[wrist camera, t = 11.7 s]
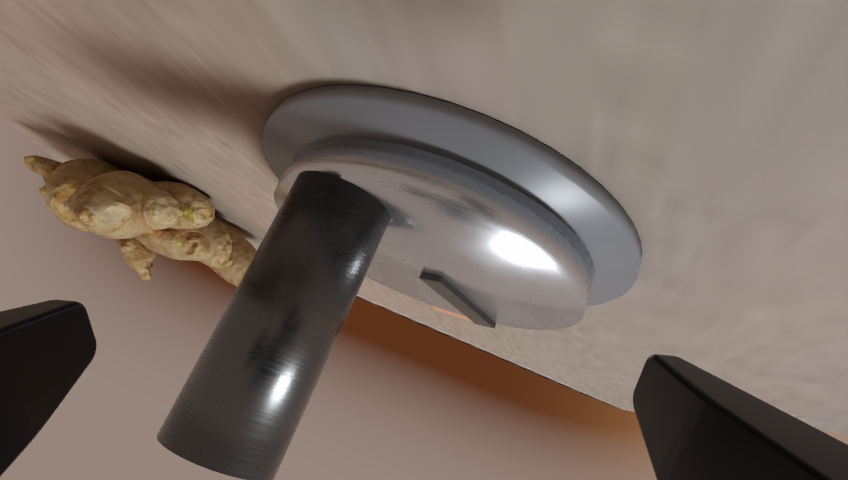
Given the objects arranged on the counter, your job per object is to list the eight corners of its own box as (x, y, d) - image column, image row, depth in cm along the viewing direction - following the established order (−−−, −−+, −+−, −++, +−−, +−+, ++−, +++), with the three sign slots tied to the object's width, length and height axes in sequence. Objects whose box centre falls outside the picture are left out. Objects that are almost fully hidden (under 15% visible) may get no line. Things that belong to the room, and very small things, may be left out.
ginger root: (-27, 102, 30) (-86, 218, 28) (211, 126, 29) (173, 250, 27) (126, 200, 45) (97, 282, 42) (288, 218, 44) (268, 303, 41)
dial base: (761, 252, 15) (752, 312, 14) (516, 313, 32) (507, 341, 31) (244, -8, 13) (206, 47, 12) (280, 206, 30) (265, 234, 29)
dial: (628, 320, 22) (568, 570, 19) (402, 277, 31) (333, 442, 27) (513, 119, 12) (334, 588, 8) (224, 139, 21) (78, 375, 17)
